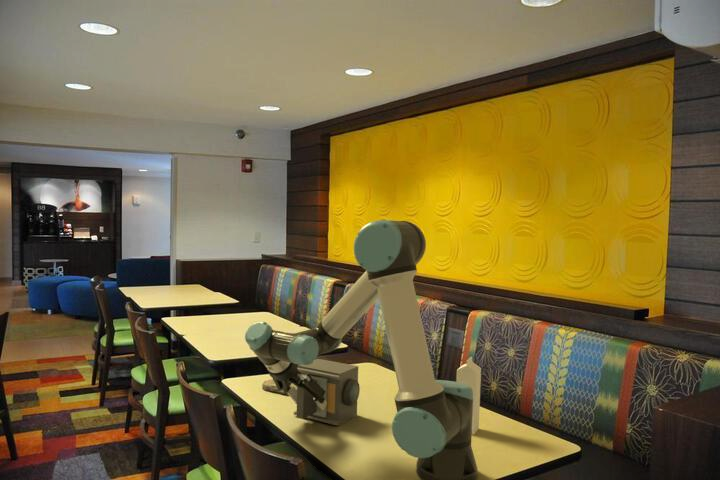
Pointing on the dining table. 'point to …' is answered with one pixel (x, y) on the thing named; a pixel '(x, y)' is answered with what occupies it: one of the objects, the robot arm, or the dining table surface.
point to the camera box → (336, 389)
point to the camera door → (311, 400)
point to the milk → (472, 378)
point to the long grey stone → (274, 387)
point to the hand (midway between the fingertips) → (311, 403)
